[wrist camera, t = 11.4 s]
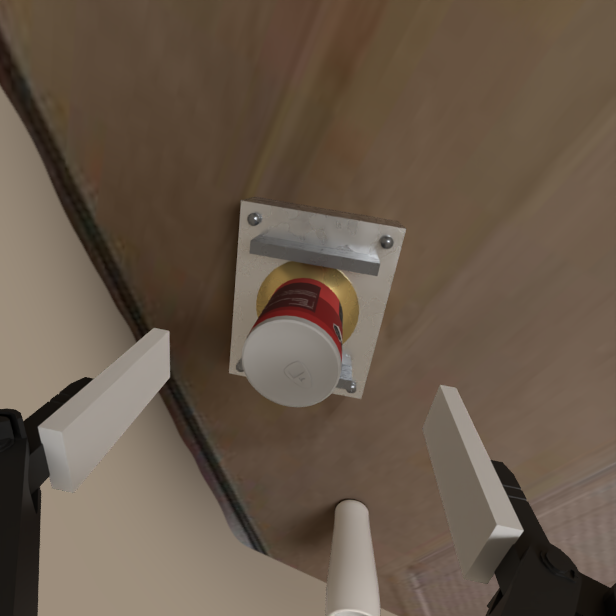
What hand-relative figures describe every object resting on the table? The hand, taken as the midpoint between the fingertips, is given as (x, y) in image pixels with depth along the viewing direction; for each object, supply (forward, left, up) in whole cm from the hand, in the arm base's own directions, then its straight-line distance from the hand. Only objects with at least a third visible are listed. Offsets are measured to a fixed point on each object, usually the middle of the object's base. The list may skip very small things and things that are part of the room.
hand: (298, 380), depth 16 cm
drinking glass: (+40, +11, -25) cm, 48 cm away
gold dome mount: (+5, -1, -24) cm, 25 cm away
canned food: (+5, -1, -19) cm, 20 cm away
